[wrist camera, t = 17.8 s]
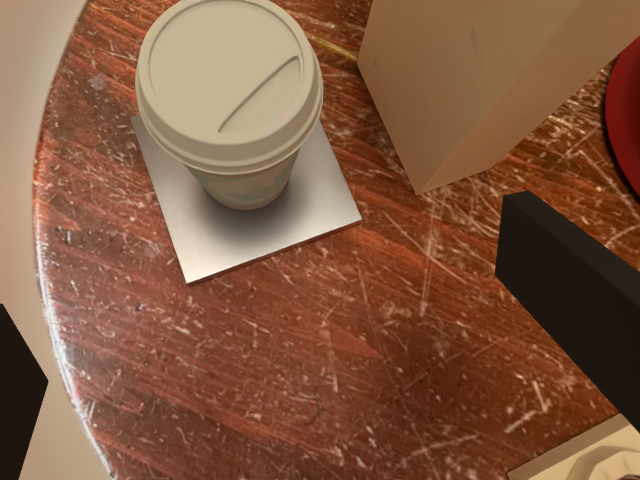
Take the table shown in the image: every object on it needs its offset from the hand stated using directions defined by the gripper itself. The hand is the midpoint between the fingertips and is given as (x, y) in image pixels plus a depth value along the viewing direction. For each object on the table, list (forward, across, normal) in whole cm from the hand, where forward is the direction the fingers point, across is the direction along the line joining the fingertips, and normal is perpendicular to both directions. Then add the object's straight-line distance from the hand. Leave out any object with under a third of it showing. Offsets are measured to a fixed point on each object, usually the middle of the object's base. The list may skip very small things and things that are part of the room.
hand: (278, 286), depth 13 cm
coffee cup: (+20, 0, -5) cm, 21 cm away
